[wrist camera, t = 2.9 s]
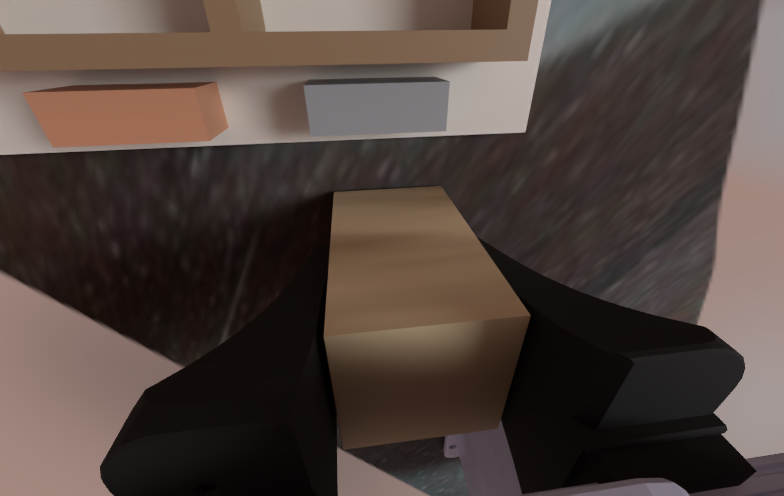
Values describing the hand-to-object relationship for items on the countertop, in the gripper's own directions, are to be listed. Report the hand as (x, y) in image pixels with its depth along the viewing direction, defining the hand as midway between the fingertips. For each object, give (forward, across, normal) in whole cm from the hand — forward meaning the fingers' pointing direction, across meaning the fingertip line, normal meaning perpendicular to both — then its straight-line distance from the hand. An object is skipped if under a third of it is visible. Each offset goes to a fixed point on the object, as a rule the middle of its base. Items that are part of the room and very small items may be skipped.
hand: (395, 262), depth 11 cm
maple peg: (+2, 0, 0) cm, 2 cm away
